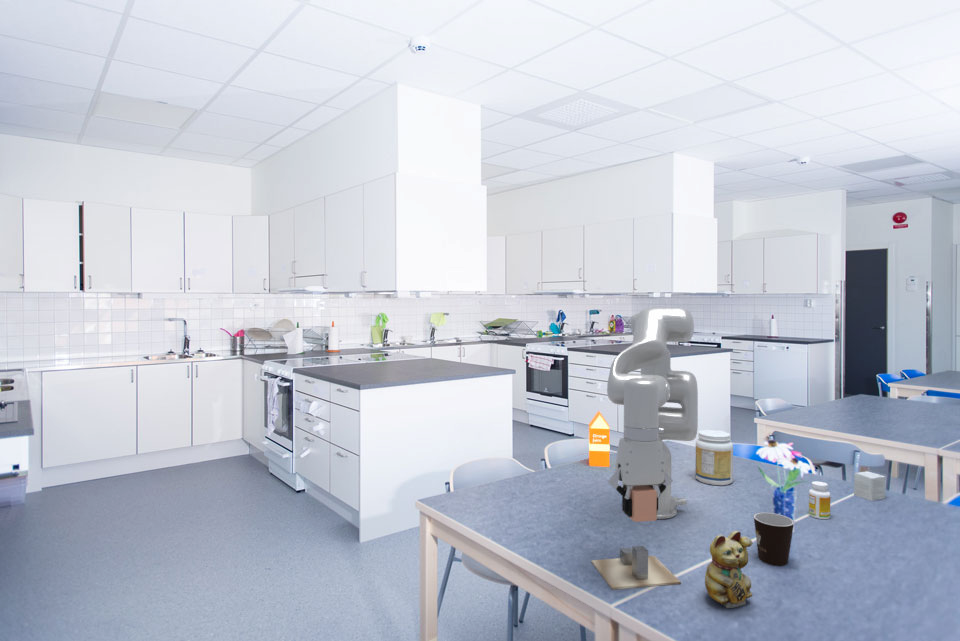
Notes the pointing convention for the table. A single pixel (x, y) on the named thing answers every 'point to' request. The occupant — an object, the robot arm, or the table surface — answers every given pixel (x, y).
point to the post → (640, 562)
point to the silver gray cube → (626, 556)
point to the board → (624, 579)
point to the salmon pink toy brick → (644, 503)
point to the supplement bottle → (819, 500)
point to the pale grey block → (869, 485)
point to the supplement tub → (714, 457)
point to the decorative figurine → (728, 570)
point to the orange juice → (599, 441)
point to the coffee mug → (773, 538)
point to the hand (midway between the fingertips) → (640, 513)
